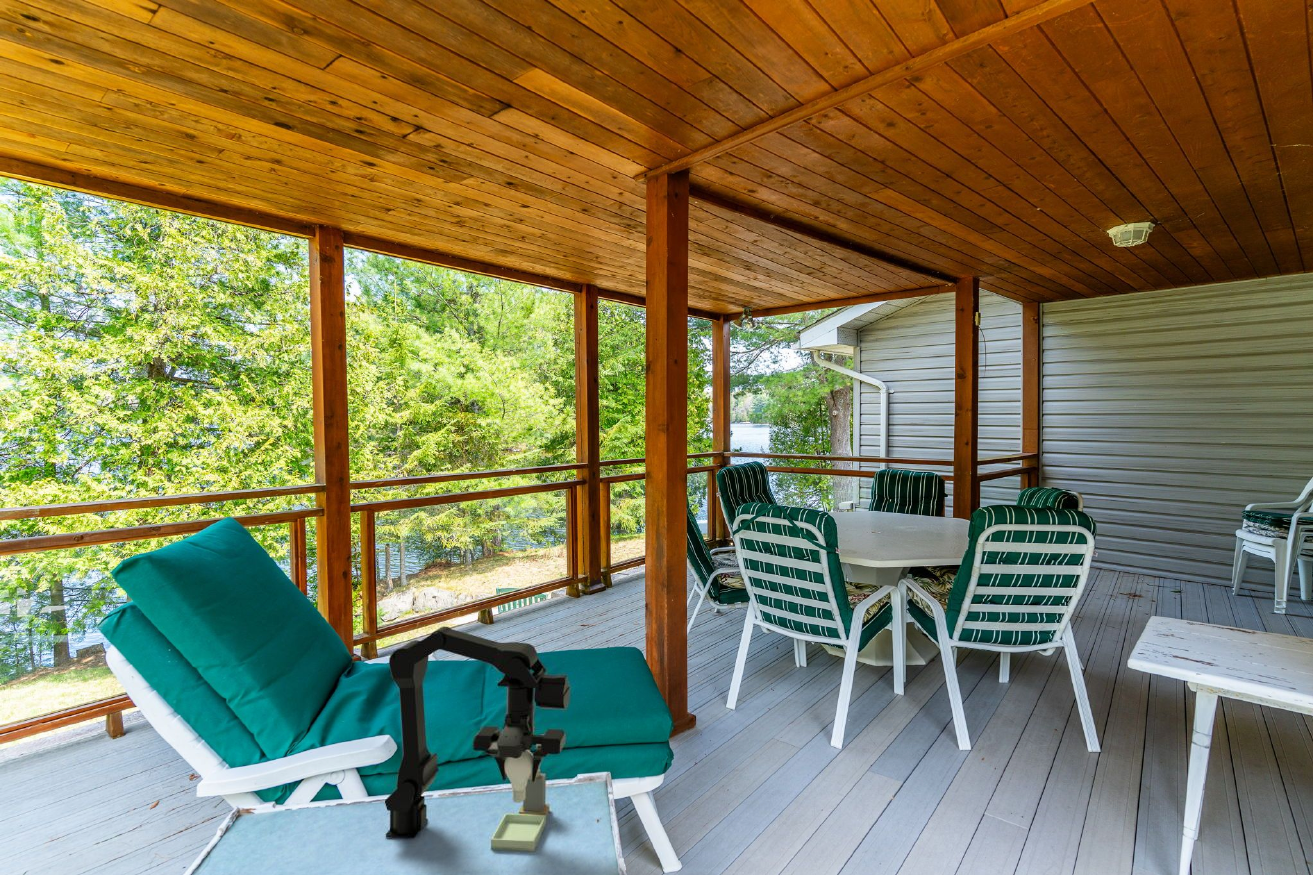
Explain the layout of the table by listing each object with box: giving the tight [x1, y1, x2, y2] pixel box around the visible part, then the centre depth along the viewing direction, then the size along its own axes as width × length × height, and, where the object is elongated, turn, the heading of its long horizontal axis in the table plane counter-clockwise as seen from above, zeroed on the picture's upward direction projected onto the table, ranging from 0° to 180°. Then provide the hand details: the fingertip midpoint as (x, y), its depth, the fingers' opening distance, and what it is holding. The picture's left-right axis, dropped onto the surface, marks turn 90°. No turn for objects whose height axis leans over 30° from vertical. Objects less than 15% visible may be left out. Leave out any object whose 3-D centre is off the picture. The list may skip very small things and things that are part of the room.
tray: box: [490, 813, 547, 852], centre depth 127 cm, size 9×9×2 cm
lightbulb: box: [504, 750, 534, 804], centre depth 128 cm, size 6×6×11 cm
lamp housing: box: [518, 768, 550, 818], centre depth 136 cm, size 6×4×10 cm, turn 86°
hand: (519, 780), depth 128 cm, fingers closed on lightbulb, 6 cm apart
